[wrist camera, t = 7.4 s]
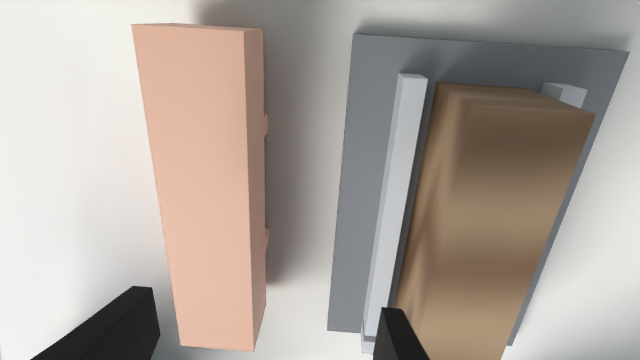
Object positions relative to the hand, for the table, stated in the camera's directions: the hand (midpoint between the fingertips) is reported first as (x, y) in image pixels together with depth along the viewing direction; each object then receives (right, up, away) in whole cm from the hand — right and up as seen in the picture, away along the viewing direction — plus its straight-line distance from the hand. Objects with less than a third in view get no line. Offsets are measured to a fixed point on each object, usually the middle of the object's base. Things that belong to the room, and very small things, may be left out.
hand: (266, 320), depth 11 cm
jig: (+9, +3, +9) cm, 13 cm away
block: (-3, +4, +9) cm, 10 cm away
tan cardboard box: (+9, +3, +8) cm, 12 cm away
